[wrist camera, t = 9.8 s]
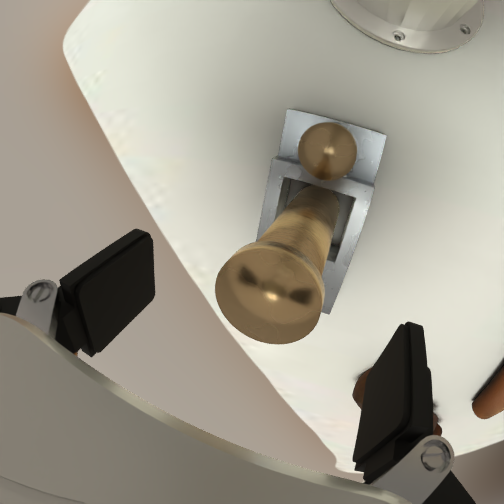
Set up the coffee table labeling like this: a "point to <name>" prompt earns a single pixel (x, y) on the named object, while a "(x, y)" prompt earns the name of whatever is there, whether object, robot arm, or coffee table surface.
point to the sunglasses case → (491, 398)
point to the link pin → (281, 272)
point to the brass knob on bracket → (326, 179)
